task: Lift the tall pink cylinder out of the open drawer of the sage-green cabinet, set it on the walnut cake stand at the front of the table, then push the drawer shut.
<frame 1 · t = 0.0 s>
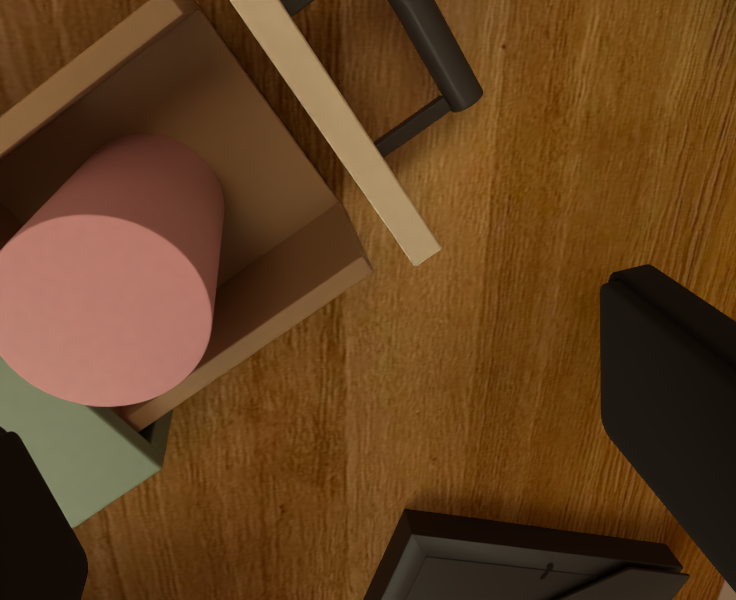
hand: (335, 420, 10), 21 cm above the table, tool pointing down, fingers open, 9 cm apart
pink cylinder: (152, 204, 27), point 2 cm above the table, touching drawer
drawer: (226, 163, 24), point 5 cm above the table, slide at 12.0 cm, touching pink cylinder
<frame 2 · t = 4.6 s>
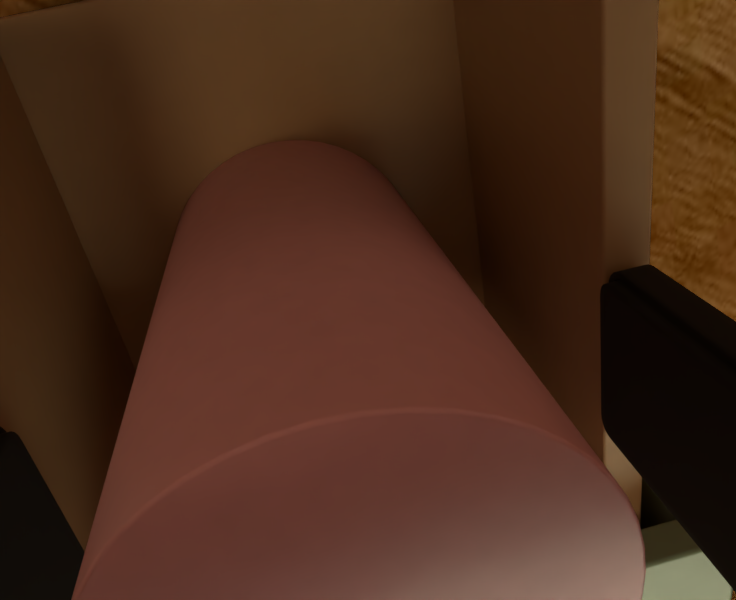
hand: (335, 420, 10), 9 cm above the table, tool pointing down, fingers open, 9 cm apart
pink cylinder: (298, 260, 16), point 2 cm above the table, touching drawer
cabinet: (367, 532, 23), on the table
drawer: (254, 116, 11), point 5 cm above the table, slide at 12.0 cm, touching gripper, pink cylinder
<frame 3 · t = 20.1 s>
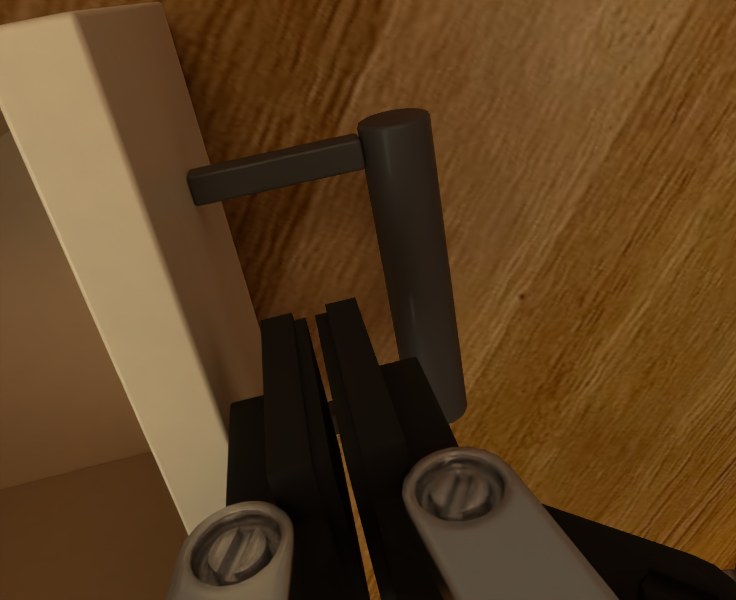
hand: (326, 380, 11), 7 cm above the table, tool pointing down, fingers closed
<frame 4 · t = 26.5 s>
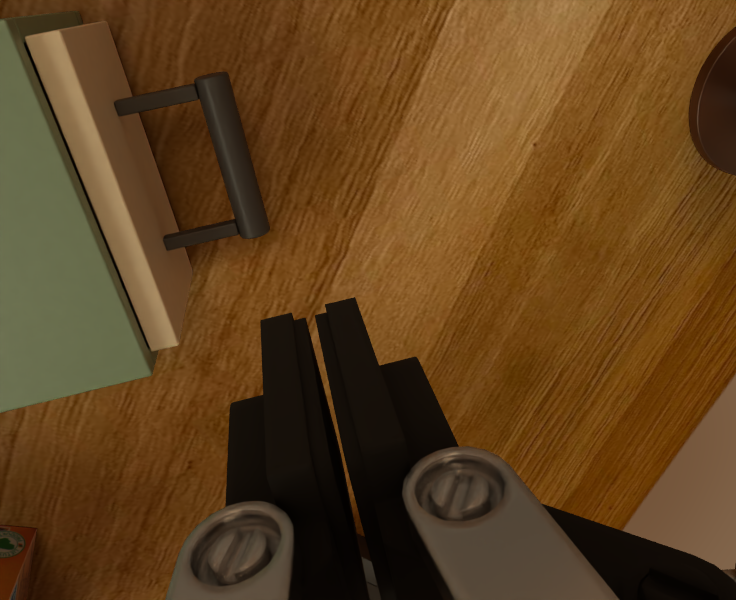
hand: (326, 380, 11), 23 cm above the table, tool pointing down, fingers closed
drawer: (27, 205, 26), point 5 cm above the table, slide at 0.0 cm
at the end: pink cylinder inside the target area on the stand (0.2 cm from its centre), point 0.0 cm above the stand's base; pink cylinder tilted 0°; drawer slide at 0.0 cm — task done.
